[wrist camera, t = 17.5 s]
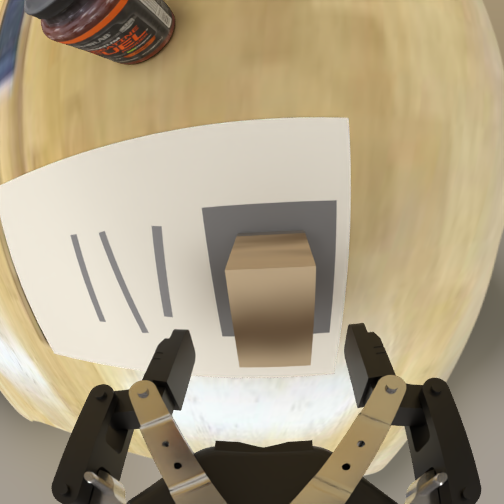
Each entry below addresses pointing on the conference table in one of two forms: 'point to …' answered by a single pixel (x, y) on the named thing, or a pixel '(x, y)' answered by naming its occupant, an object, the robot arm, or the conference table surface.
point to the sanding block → (272, 298)
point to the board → (178, 237)
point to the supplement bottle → (107, 26)
